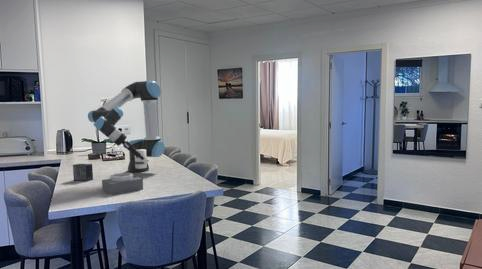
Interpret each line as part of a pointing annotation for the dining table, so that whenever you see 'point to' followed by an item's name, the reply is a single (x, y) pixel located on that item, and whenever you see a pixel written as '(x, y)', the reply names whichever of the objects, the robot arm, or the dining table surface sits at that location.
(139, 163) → the white glossy rounded part
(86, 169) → the small box
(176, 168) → the dining table surface
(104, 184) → the octagonal socket base
